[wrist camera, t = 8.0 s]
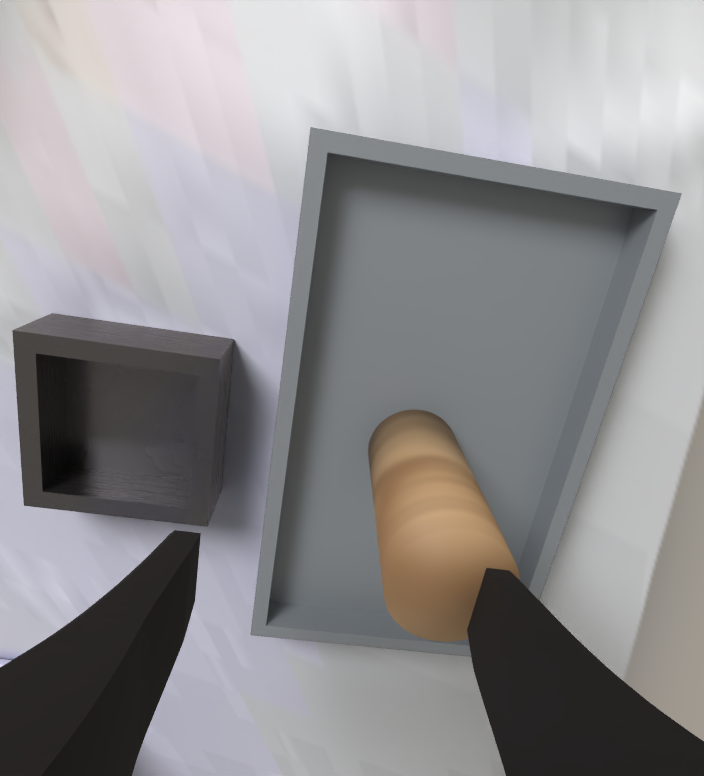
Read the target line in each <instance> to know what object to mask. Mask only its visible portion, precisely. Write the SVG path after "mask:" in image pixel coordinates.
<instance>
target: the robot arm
mask: <svg viewBox="0 0 704 776" xmlns="http://www.w3.org/2000/svg"><path fill="white" fill-rule="evenodd" d="M200 534H201V533H193V532H185V531H177V530H175V531H173V532H172V533H170V534H169V535H168V537H167V538H166V539H165V540H164V541H163V542H162V543H161V544H160V545H159V546H158V547H157V548H156V549H155V550H154V551H153V552H152V553H151V554H150V555H149V556H148V557H147V558H146V559H145V560H144V561H143V562H142V563H141V564H140V565H138V566H137V567H136V568H135V569H134V570H133V571H132V572H131V573H130V574H129V575H127V576H126V577H125V578H124V579H123V580H122V581H121V582H120V583H119V584H118V585H116V586H115V587H114V588H113V589H112V590H110V591H109V592H108V593H107V594H106V595H104V596H103V597H102V598H101V599H99V600H98V601H97V602H96V603H95V604H93V605H92V606H91V607H90V608H88V609H87V610H86V611H85V612H83V613H82V614H81V615H79V616H78V617H77V618H75V619H74V620H73V621H71V622H70V623H69V624H67V625H66V626H64V627H63V628H61V629H60V630H59V631H57V632H56V633H54V634H53V635H51V636H50V637H48V638H47V639H45V640H44V641H42V642H41V643H39V644H38V645H36V646H34V647H33V648H31V649H30V650H28V651H27V652H25V653H23V654H22V655H20V656H18V657H17V658H15V659H13V660H6V659H0V776H132V772H133V769H134V766H135V763H136V760H137V756H138V754H139V751H140V748H141V745H142V743H143V740H144V737H145V734H146V732H147V729H148V727H149V725H150V722H151V720H152V717H153V715H154V712H155V710H156V707H157V705H158V703H159V700H160V698H161V695H162V693H163V690H164V688H165V685H166V683H167V680H168V678H169V676H170V673H171V671H172V668H173V666H174V663H175V661H176V658H177V656H178V653H179V651H180V648H181V646H182V643H183V641H184V637H185V634H186V630H187V627H188V623H189V620H190V616H191V613H192V609H193V605H194V602H195V593H196V581H197V569H198V557H199V546H200ZM467 633H468V640H469V646H470V652H471V657H472V662H473V668H474V672H475V676H476V679H477V682H478V686H479V689H480V692H481V696H482V699H483V702H484V705H485V709H486V712H487V715H488V718H489V721H490V725H491V728H492V731H493V734H494V737H495V741H496V744H497V747H498V750H499V753H500V757H501V760H502V763H503V766H504V770H505V774H506V776H704V741H702V740H701V739H699V738H698V737H696V736H695V735H693V734H692V733H690V732H689V731H688V730H686V729H685V728H684V727H682V726H681V725H679V724H678V723H676V722H675V721H674V720H672V719H671V718H670V717H668V716H667V715H665V714H664V713H663V712H661V711H660V710H658V709H657V708H656V707H655V706H653V705H652V704H650V703H649V702H648V701H647V700H646V699H644V698H643V697H642V696H641V695H639V694H638V693H637V692H636V691H635V690H633V689H632V688H631V687H629V686H628V685H627V684H626V683H625V682H624V681H622V680H621V679H620V678H619V677H618V676H616V675H615V674H614V673H613V672H612V671H611V670H610V669H608V668H607V667H606V666H605V665H604V664H603V663H602V662H601V661H600V660H599V659H597V658H596V657H595V656H594V655H593V654H592V653H591V652H590V651H589V650H588V649H587V648H586V647H584V646H583V645H582V644H581V643H580V642H579V641H578V640H577V639H576V638H575V637H574V636H573V635H572V634H571V633H570V632H569V631H568V630H567V629H566V628H565V627H564V626H563V625H562V624H561V623H560V622H559V621H558V620H557V619H556V618H555V617H554V616H553V615H552V614H551V613H550V611H549V610H548V609H547V608H546V607H545V606H544V605H543V604H542V603H541V602H540V601H539V600H538V599H537V598H536V597H535V596H534V595H533V594H532V593H531V592H530V591H529V590H528V588H527V587H526V586H525V585H524V584H523V583H522V582H521V581H520V580H519V579H518V578H517V577H516V576H515V575H514V574H513V573H512V572H511V571H509V570H502V569H493V568H486V571H485V574H484V577H483V580H482V583H481V587H480V590H479V593H478V596H477V599H476V603H475V606H474V609H473V612H472V615H471V619H470V622H469V625H468V628H467Z"/></svg>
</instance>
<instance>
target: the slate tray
mask: <svg viewBox="0 0 704 776" xmlns="http://www.w3.org/2000/svg"><path fill="white" fill-rule="evenodd" d="M680 197H681V193H676V192H670V191H664V190H659V189H653V188H648V187H642V186H636V185H631V184H625V183H620V182H614V181H608V180H603V179H597V178H592V177H586V176H580V175H575V174H569V173H564V172H558V171H552V170H547V169H541V168H536V167H530V166H524V165H519V164H513V163H508V162H502V161H496V160H491V159H485V158H480V157H474V156H468V155H463V154H457V153H452V152H446V151H440V150H435V149H429V148H424V147H418V146H412V145H407V144H401V143H396V142H390V141H384V140H379V139H373V138H367V137H362V136H356V135H351V134H345V133H339V132H334V131H328V130H323V129H317V128H311V129H310V137H309V146H308V154H307V163H306V171H305V179H304V188H303V196H302V205H301V213H300V222H299V230H298V239H297V247H296V255H295V264H294V272H293V281H292V289H291V298H290V306H289V315H288V323H287V332H286V340H285V348H284V357H283V365H282V374H281V382H280V391H279V399H278V408H277V416H276V424H275V433H274V441H273V450H272V458H271V467H270V475H269V484H268V492H267V500H266V509H265V517H264V526H263V534H262V543H261V551H260V560H259V568H258V576H257V585H256V593H255V602H254V610H253V619H252V627H251V635H254V636H264V637H274V638H285V639H295V640H305V641H316V642H326V643H336V644H347V645H357V646H367V647H378V648H388V649H398V650H408V651H419V652H429V653H439V654H450V655H460V656H470V657H471V652H470V646H469V640H468V639H465V640H459V641H449V642H443V641H433V640H428V639H424V638H421V637H418V636H416V635H413V634H412V633H410V632H408V631H406V630H405V629H404V628H402V627H401V626H400V625H399V624H398V623H397V622H396V621H395V620H394V619H393V618H392V616H391V615H390V613H389V611H388V609H387V606H386V604H385V599H384V593H383V584H382V575H381V566H380V557H379V548H378V539H377V530H376V521H375V512H374V503H373V494H372V485H371V476H370V467H369V458H368V445H369V441H370V438H371V436H372V434H373V432H374V430H375V429H376V428H377V426H378V425H379V424H380V423H381V422H382V421H383V420H385V419H386V418H387V417H389V416H391V415H393V414H395V413H397V412H401V411H405V410H424V411H428V412H431V413H433V414H435V415H437V416H439V417H440V418H442V419H443V420H444V421H445V422H446V423H447V424H448V425H449V426H450V428H451V429H452V431H453V433H454V435H455V437H456V439H457V442H458V444H459V446H460V448H461V450H462V452H463V454H464V456H465V458H466V460H467V462H468V464H469V467H470V469H471V471H472V473H473V475H474V477H475V479H476V481H477V483H478V485H479V487H480V489H481V492H482V494H483V496H484V498H485V500H486V502H487V504H488V506H489V508H490V510H491V512H492V514H493V517H494V519H495V521H496V523H497V525H498V527H499V529H500V531H501V533H502V535H503V537H504V539H505V542H506V544H507V546H508V548H509V550H510V552H511V554H512V556H513V558H514V560H515V563H516V565H517V567H518V571H519V575H520V581H521V582H522V583H523V584H524V585H525V586H526V587H527V588H528V590H529V591H530V592H531V593H532V594H533V595H534V596H535V597H536V598H537V599H538V600H539V599H540V596H541V593H542V590H543V588H544V585H545V582H546V579H547V576H548V573H549V571H550V568H551V565H552V562H553V559H554V556H555V553H556V551H557V548H558V545H559V542H560V539H561V536H562V533H563V531H564V528H565V525H566V522H567V519H568V516H569V513H570V511H571V508H572V505H573V502H574V499H575V496H576V494H577V491H578V488H579V485H580V482H581V479H582V476H583V474H584V471H585V468H586V465H587V462H588V459H589V456H590V454H591V451H592V448H593V445H594V442H595V439H596V437H597V434H598V431H599V428H600V425H601V422H602V419H603V417H604V414H605V411H606V408H607V405H608V402H609V399H610V397H611V394H612V391H613V388H614V385H615V382H616V379H617V377H618V374H619V371H620V368H621V365H622V362H623V360H624V357H625V354H626V351H627V348H628V345H629V342H630V340H631V337H632V334H633V331H634V328H635V325H636V322H637V320H638V317H639V314H640V311H641V308H642V305H643V303H644V300H645V297H646V294H647V291H648V288H649V285H650V283H651V280H652V277H653V274H654V271H655V268H656V265H657V263H658V260H659V257H660V254H661V251H662V248H663V245H664V243H665V240H666V237H667V234H668V231H669V228H670V226H671V223H672V220H673V217H674V214H675V211H676V208H677V206H678V203H679V200H680Z"/></svg>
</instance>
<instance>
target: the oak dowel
mask: <svg viewBox="0 0 704 776" xmlns="http://www.w3.org/2000/svg"><path fill="white" fill-rule="evenodd" d="M368 458H369V467H370V476H371V485H372V494H373V503H374V512H375V521H376V530H377V539H378V548H379V557H380V566H381V575H382V584H383V593H384V599H385V604H386V606H387V609H388V611H389V613H390V615H391V616H392V618H393V619H394V620H395V621H396V622H397V623H398V624H399V625H400V626H401V627H402V628H404V629H405V630H406V631H408V632H410V633H412V634H413V635H416V636H418V637H421V638H424V639H428V640H433V641H443V642H449V641H459V640H465V639H468V633H467V628H468V625H469V622H470V619H471V615H472V612H473V609H474V606H475V603H476V599H477V596H478V593H479V590H480V587H481V583H482V580H483V577H484V574H485V571H486V568H493V569H502V570H509V571H511V572H512V573H513V574H514V575H515V576H516V577H517V578H518V579H519V580H520V575H519V571H518V567H517V565H516V563H515V560H514V558H513V556H512V554H511V552H510V550H509V548H508V546H507V544H506V542H505V539H504V537H503V535H502V533H501V531H500V529H499V527H498V525H497V523H496V521H495V519H494V517H493V514H492V512H491V510H490V508H489V506H488V504H487V502H486V500H485V498H484V496H483V494H482V492H481V489H480V487H479V485H478V483H477V481H476V479H475V477H474V475H473V473H472V471H471V469H470V467H469V464H468V462H467V460H466V458H465V456H464V454H463V452H462V450H461V448H460V446H459V444H458V442H457V439H456V437H455V435H454V433H453V431H452V429H451V428H450V426H449V425H448V424H447V423H446V422H445V421H444V420H443V419H442V418H440V417H439V416H437V415H435V414H433V413H431V412H428V411H424V410H405V411H401V412H397V413H395V414H393V415H391V416H389V417H387V418H386V419H385V420H383V421H382V422H381V423H380V424H379V425H378V426H377V428H376V429H375V430H374V432H373V434H372V436H371V438H370V441H369V445H368Z"/></svg>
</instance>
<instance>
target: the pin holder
mask: <svg viewBox="0 0 704 776" xmlns="http://www.w3.org/2000/svg"><path fill="white" fill-rule="evenodd" d="M233 343H234V339H228V338H221V337H214V336H207V335H200V334H193V333H186V332H179V331H172V330H165V329H158V328H151V327H144V326H137V325H130V324H123V323H116V322H109V321H102V320H95V319H88V318H81V317H74V316H67V315H60V314H53V313H52V314H50V315H47V316H45V317H43V318H40V319H38V320H36V321H33V322H31V323H29V324H26V325H24V326H22V327H19V328H17V329H14V330H13V344H14V359H15V375H16V390H17V405H18V421H19V436H20V451H21V467H22V482H23V498H24V506H32V507H41V508H50V509H59V510H67V511H76V512H85V513H94V514H103V515H112V516H120V517H129V518H138V519H147V520H156V521H164V522H173V523H182V524H191V525H200V526H208V524H209V521H210V519H211V516H212V513H213V511H214V508H215V505H216V503H217V500H218V498H219V495H220V492H221V487H222V475H223V463H224V451H225V439H226V427H227V415H228V403H229V391H230V379H231V367H232V355H233Z"/></svg>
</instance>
